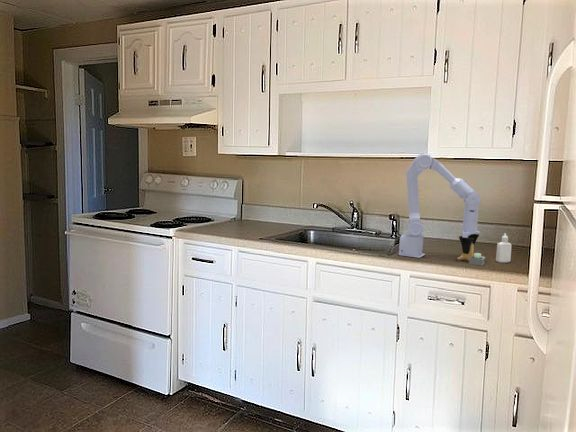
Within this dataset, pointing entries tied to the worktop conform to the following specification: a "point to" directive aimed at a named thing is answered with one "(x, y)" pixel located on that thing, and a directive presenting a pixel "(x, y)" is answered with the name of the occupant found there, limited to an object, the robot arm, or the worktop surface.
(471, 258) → the button housing
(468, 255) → the block
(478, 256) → the button
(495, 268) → the worktop surface
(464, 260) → the compartment tray
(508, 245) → the eye dropper bottle
